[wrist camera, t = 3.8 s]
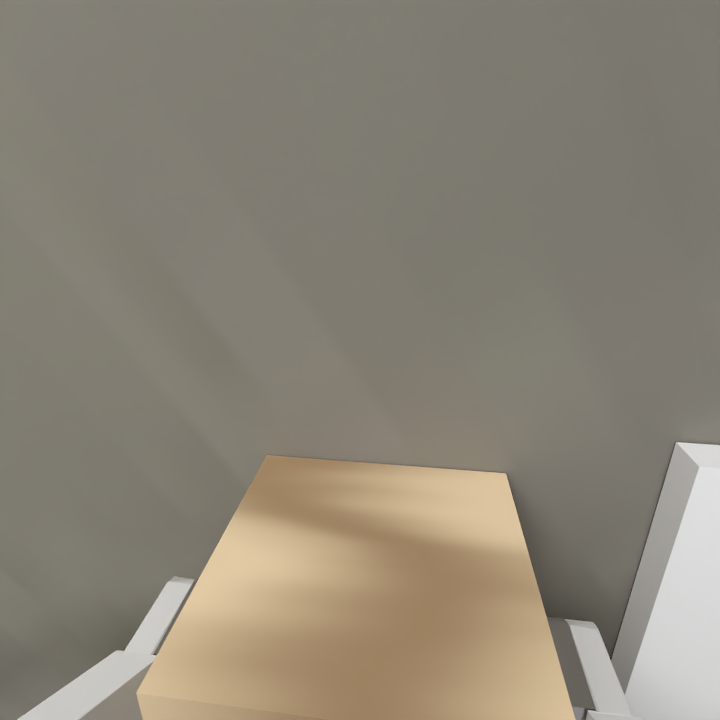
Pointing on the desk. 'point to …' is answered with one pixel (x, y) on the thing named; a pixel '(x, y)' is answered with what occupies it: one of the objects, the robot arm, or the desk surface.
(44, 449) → the desk surface
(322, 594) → the oak block
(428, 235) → the desk surface
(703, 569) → the plate
